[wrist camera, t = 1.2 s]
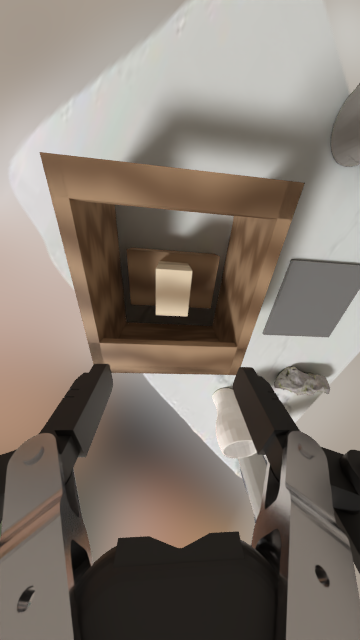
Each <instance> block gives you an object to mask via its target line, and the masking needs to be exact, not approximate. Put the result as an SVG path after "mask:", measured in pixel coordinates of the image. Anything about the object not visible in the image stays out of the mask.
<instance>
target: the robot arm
mask: <svg viewBox="0 0 360 640" xmlns="http://www.w3.org/2000/svg"><path fill="white" fill-rule="evenodd" d="M331 150H332V154H333V157H334V159H335V160H336V162H337V163H339V164H340V165H342V166H345V167H352V166H356V165H359V164H360V84H359V85H358V86H357V87H356V89H355V90H354V91H353V92H352V93H351V94H350V95H349V97H348V98H347V100H346V101H345V103H344V104H343V106H342V108H341V110H340V111H339V113H338V115H337V118H336V121H335V123H334V127H333V131H332V137H331ZM112 387H113V379H112V375H111V369H110V365H109V364H94V365H93V367H92V369H91V370H90V372H89V373H83V374H82V375H81V376H80V377H78V379H76V380H75V381H74V383H73V384H72V386H71V387H70V390H69V391H68V392H67V393H66V395H65V397H64V398H63V399H62V401H61V402H60V404H59V405H58V407H57V408H56V410H55V411H54V413H53V414H52V416H51V417H50V419H49V420H48V422H47V423H46V425H45V426H44V428H43V429H42V430H41V432H40V433H39V434H38V435H36V436H34V437H32V438H30V439H28V440H27V441H26V442H24V443H23V444H22V445H21V446H20V447H19V448H18V449H17V450H14V451H11V452H9V453H6V454H2V455H0V523H1V521H2V531H1V538H0V640H360V599H359V593H358V588H357V582H356V576H355V570H354V564H355V565H356V568H357V569H358V571H359V573H360V451H357V450H350V451H348V452H347V453H346V454H345V455H343V454H340V453H337V452H334V451H331V450H329V449H326V448H323V447H320V446H319V444H318V443H317V442H316V441H315V440H314V439H312V438H311V437H310V436H308V435H307V434H304V433H303V432H301V431H300V430H299V429H298V427H297V426H296V424H295V423H294V421H293V420H292V418H291V417H290V415H289V413H288V412H287V410H286V409H285V407H284V406H283V404H282V403H281V401H280V400H279V398H278V396H277V395H276V393H274V390H273V389H272V387H271V386H270V384H269V383H268V382H267V381H266V380H265V379H264V378H263V377H261V376H258V375H257V373H256V372H255V370H254V369H253V368H252V367H239V369H238V371H237V374H236V377H235V380H234V383H233V391H234V395H235V397H236V400H237V402H238V405H239V407H240V410H241V413H242V415H243V418H244V420H245V423H246V426H247V428H248V431H249V433H250V436H251V438H252V441H253V444H254V446H255V449H256V451H257V454H258V455H266V456H267V458H268V463H267V468H266V475H265V482H264V488H263V495H262V502H261V508H260V512H259V515H258V517H257V519H256V523H255V526H254V531H253V537H252V543H251V545H249V544H247V543H246V542H244V541H242V540H240V536H239V532H223V533H222V532H221V533H209V534H208V535H206V536H204V537H202V538H200V539H198V540H197V541H195V542H193V543H191V544H189V545H187V546H185V547H184V548H176V547H173V546H171V545H168V544H166V543H164V542H161V541H159V540H156V539H154V538H152V537H130V538H118V543H117V546H116V547H114V548H112V549H111V550H109V551H107V552H106V553H105V554H103V555H102V556H101V557H100V558H99V559H98V560H97V561H95V562H94V563H93V559H92V553H91V548H90V544H89V539H88V534H87V530H86V527H85V524H84V521H83V518H82V513H81V508H80V503H79V497H78V491H77V486H76V480H75V475H74V469H73V467H74V464H75V462H76V460H77V458H78V457H86V456H87V453H88V450H89V448H90V445H91V443H92V440H93V437H94V435H95V433H96V430H97V428H98V425H99V422H100V420H101V417H102V415H103V412H104V410H105V407H106V404H107V402H108V399H109V397H110V394H111V391H112ZM353 562H354V564H353ZM29 602H31V604H30V606H29V607H28V603H29Z"/></svg>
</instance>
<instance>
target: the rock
mask: <svg viewBox="0 0 360 640" xmlns="http://www.w3.org/2000/svg"><path fill="white" fill-rule="evenodd" d="M274 386H275V388H280V389H283V390H284V389H286V390H289V391H290V392H294V393H296V394H297V395H301V394H307V395H312V394H314V393H315V392H316V391H317V392H324V393H327V394H329V391H330V387H329V384H328V381H327V380H326V378H325V377H323V376H321V375H314V374H311V373H309V374H307V373H303V372H301V371H300V370H298V369H297V368H296V367H287V368H285V369H284V370H283V371H282V372H281V373H280V374H279V375H278V377H277V379H276V381H275V382H274Z"/></svg>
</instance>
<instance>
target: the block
mask: <svg viewBox="0 0 360 640" xmlns="http://www.w3.org/2000/svg"><path fill="white" fill-rule="evenodd" d="M191 280H192V270H191V268H190V266H189V264H188V263H179V262H165V261H159V263H158V265H157V267H156V315H167V316H188V307H189V298H190V289H191Z"/></svg>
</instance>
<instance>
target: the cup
mask: <svg viewBox="0 0 360 640" xmlns="http://www.w3.org/2000/svg"><path fill="white" fill-rule="evenodd" d="M212 398H213V401H214V403H215V406H216V408H217V415H218V416H217V420H216V436H217V441H218V444H219V446H220V449H221V451H222V453H223V455H224V456H226V457H229V458H244V457H248V456H251V455H253V454H255V453H256V452H257V451H256V449H255V446H254V444H253V441H252V438H251V436H250V433H249V431H248V428H247V426H246V423H245V420H244V418H243V415H242V413H241V410H240V407H239V405H238V402H237V400H236V397H235V395H234V391H233V390H232V389H230V388H222V389H219V390H217V391H216V392H214V394H213V396H212Z"/></svg>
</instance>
